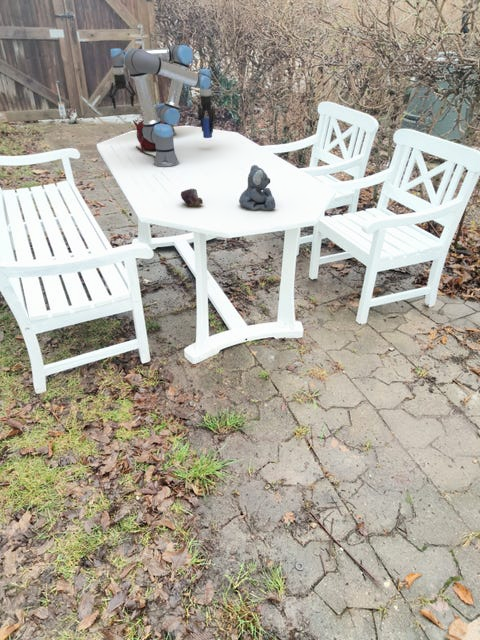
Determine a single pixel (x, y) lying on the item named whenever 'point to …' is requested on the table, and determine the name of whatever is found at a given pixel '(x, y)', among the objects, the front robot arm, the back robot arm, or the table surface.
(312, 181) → the table surface
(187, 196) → the rock
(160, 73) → the front robot arm
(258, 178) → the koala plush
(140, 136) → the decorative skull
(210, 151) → the table surface
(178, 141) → the table surface
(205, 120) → the can
